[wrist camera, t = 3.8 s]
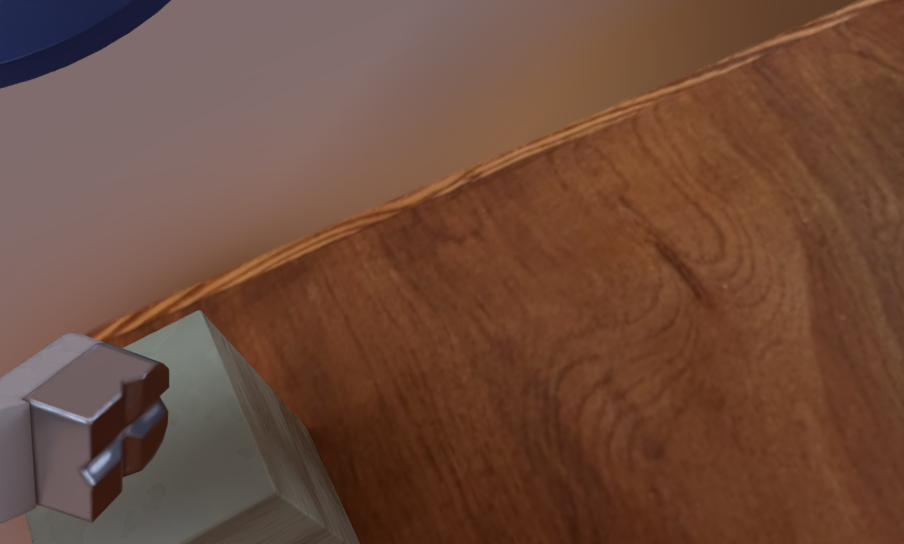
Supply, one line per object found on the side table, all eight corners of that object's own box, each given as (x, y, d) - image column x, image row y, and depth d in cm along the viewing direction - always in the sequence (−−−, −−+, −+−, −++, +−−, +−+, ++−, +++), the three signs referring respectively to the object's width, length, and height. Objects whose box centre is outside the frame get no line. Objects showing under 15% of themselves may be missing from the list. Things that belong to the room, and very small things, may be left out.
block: (176, 497, 26) (-2, 409, 17) (306, 427, 27) (200, 308, 18) (225, 638, 24) (49, 618, 15) (366, 556, 25) (276, 492, 16)
